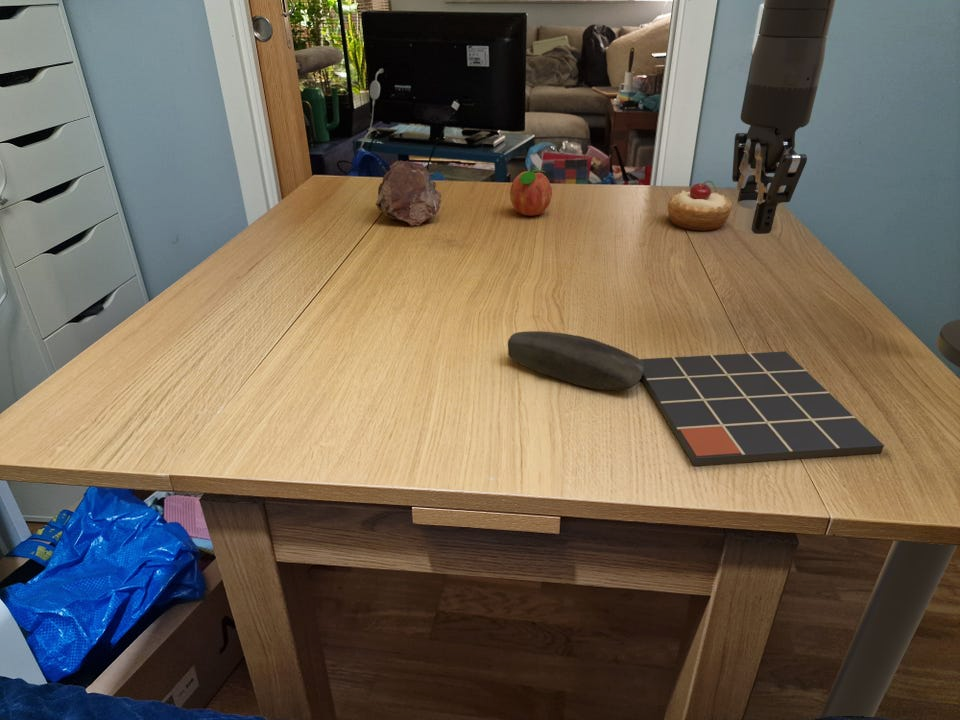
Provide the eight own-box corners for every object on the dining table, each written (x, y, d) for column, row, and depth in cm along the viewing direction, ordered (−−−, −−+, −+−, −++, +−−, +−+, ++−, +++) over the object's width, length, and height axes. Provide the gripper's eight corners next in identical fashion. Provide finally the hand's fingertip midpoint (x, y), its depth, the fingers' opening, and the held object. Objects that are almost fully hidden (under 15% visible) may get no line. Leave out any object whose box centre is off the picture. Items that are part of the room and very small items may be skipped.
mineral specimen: (391, 247, 135) (389, 204, 144) (450, 226, 132) (444, 184, 142) (365, 203, 126) (365, 160, 136) (427, 180, 124) (423, 138, 134)
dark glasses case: (648, 375, 82) (652, 345, 79) (636, 401, 76) (640, 370, 74) (518, 347, 88) (519, 319, 86) (499, 369, 83) (500, 340, 81)
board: (783, 357, 85) (785, 350, 85) (881, 453, 68) (884, 444, 67) (632, 366, 83) (633, 358, 83) (693, 466, 66) (695, 457, 66)
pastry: (688, 211, 140) (694, 168, 136) (739, 224, 132) (748, 179, 128) (653, 222, 133) (659, 178, 129) (705, 237, 125) (713, 190, 121)
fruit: (500, 215, 137) (501, 166, 132) (525, 204, 144) (527, 158, 139) (535, 223, 133) (537, 173, 128) (559, 211, 140) (562, 163, 135)
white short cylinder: (760, 222, 86) (765, 199, 84) (776, 233, 82) (781, 209, 80) (727, 223, 85) (731, 200, 84) (741, 234, 81) (746, 210, 80)
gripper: (850, 88, 69) (809, 245, 77) (784, 72, 81) (755, 209, 90) (780, 89, 68) (747, 246, 77) (725, 73, 81) (701, 210, 89)
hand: (751, 225), depth 83 cm, fingers closed on white short cylinder, 4 cm apart
